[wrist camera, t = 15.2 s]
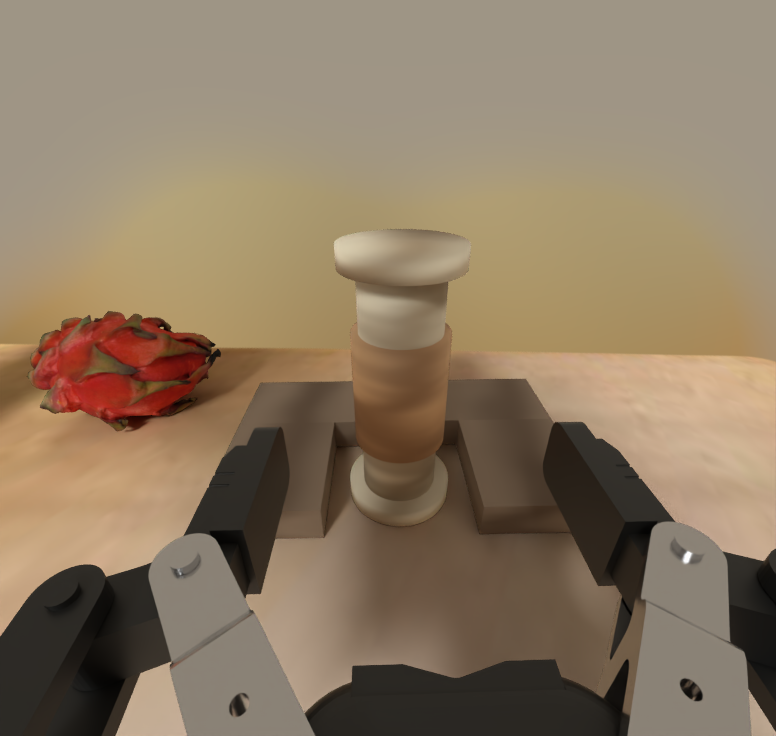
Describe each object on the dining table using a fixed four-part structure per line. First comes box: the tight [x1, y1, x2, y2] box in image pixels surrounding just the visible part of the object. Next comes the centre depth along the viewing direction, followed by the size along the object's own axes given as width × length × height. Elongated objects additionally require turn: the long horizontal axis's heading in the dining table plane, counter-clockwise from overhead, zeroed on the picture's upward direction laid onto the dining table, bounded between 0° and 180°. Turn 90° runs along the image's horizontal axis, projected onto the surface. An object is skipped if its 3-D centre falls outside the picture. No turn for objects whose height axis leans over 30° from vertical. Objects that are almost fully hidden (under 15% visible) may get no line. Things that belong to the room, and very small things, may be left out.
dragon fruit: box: [28, 311, 221, 431], centre depth 28 cm, size 8×8×12 cm
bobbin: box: [334, 229, 471, 526], centre depth 20 cm, size 6×6×14 cm
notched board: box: [225, 379, 571, 538], centre depth 25 cm, size 20×12×2 cm, turn 91°
